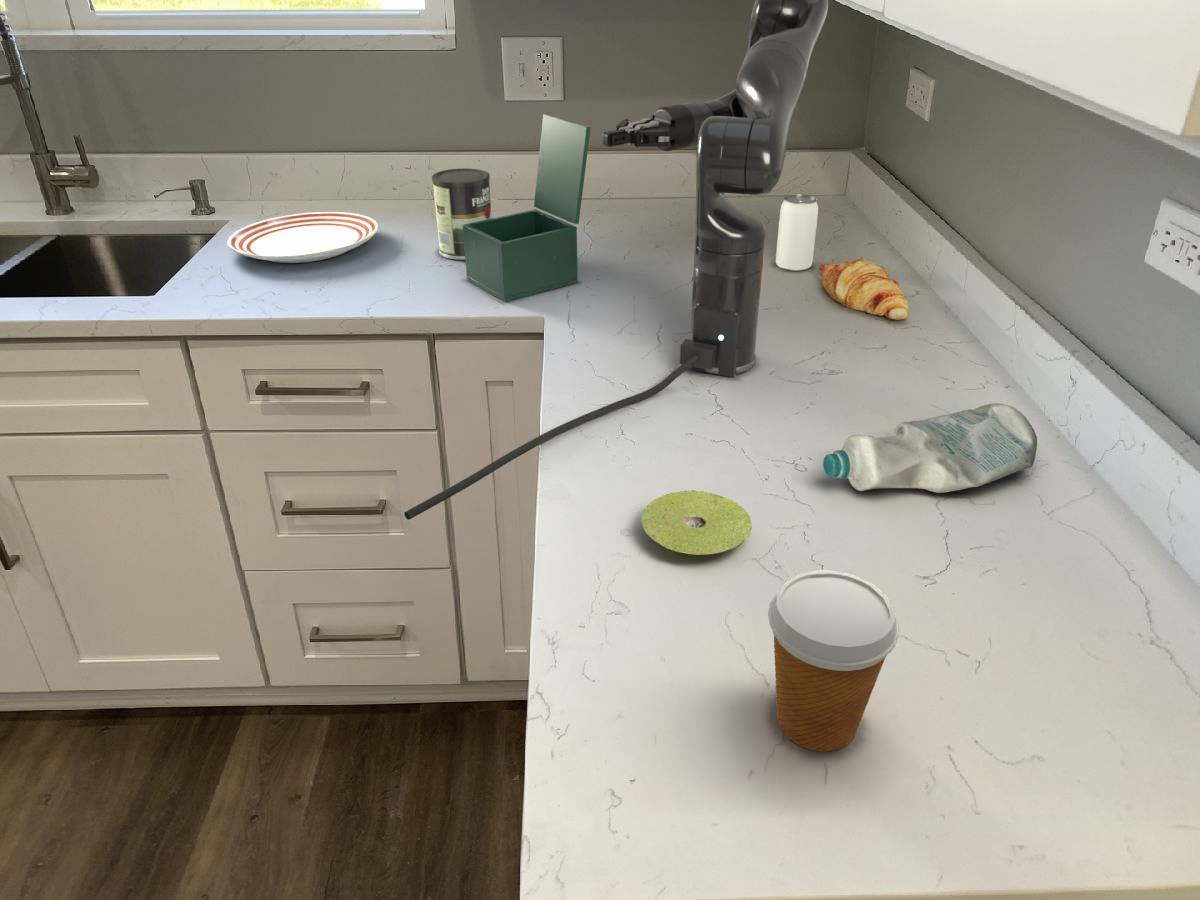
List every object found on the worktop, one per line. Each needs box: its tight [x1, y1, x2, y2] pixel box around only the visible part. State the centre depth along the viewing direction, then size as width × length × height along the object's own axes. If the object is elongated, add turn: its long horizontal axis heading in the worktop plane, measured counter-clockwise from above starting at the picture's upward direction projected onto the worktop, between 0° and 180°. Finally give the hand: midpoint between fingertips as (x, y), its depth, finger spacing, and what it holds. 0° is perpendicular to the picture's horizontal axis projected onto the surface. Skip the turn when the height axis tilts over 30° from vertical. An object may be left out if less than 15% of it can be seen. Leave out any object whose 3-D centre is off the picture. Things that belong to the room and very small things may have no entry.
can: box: [775, 193, 819, 272], centre depth 162 cm, size 6×6×12 cm
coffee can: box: [431, 167, 493, 261], centre depth 169 cm, size 10×10×14 cm
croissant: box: [819, 257, 910, 321], centre depth 149 cm, size 21×10×8 cm, turn 26°
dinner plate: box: [226, 211, 379, 264], centre depth 174 cm, size 27×27×3 cm
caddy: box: [463, 209, 579, 303], centre depth 156 cm, size 15×13×10 cm
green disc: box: [641, 490, 752, 556], centre depth 95 cm, size 11×11×2 cm
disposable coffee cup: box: [767, 569, 900, 752], centre depth 71 cm, size 10×10×12 cm
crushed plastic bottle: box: [822, 402, 1038, 494], centre depth 103 cm, size 13×7×25 cm
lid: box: [533, 113, 592, 225], centre depth 154 cm, size 15×13×1 cm
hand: (605, 139), depth 157 cm, fingers closed
